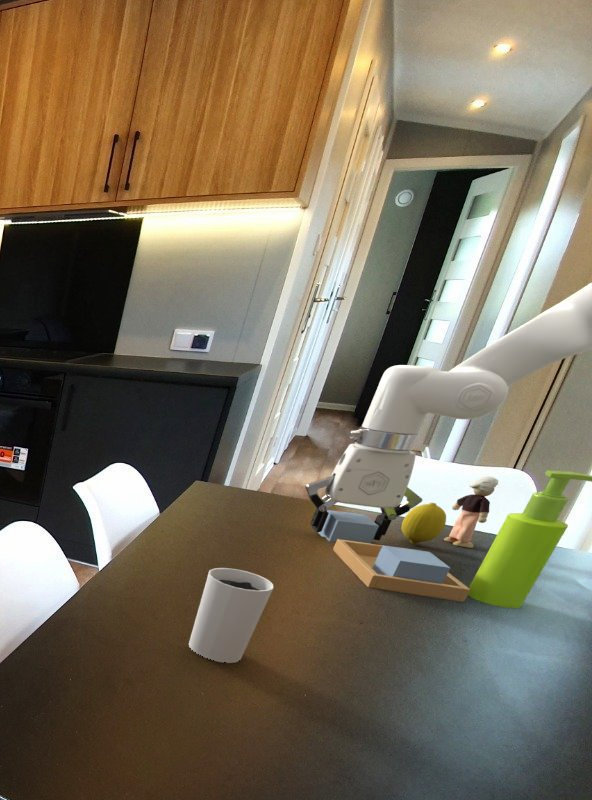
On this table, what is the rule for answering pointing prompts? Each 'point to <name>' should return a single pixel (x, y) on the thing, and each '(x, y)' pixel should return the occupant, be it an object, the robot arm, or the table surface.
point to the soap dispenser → (523, 546)
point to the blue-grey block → (410, 564)
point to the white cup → (228, 613)
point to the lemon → (423, 523)
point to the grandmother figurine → (472, 511)
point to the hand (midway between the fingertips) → (344, 533)
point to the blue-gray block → (348, 527)
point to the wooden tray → (362, 563)
